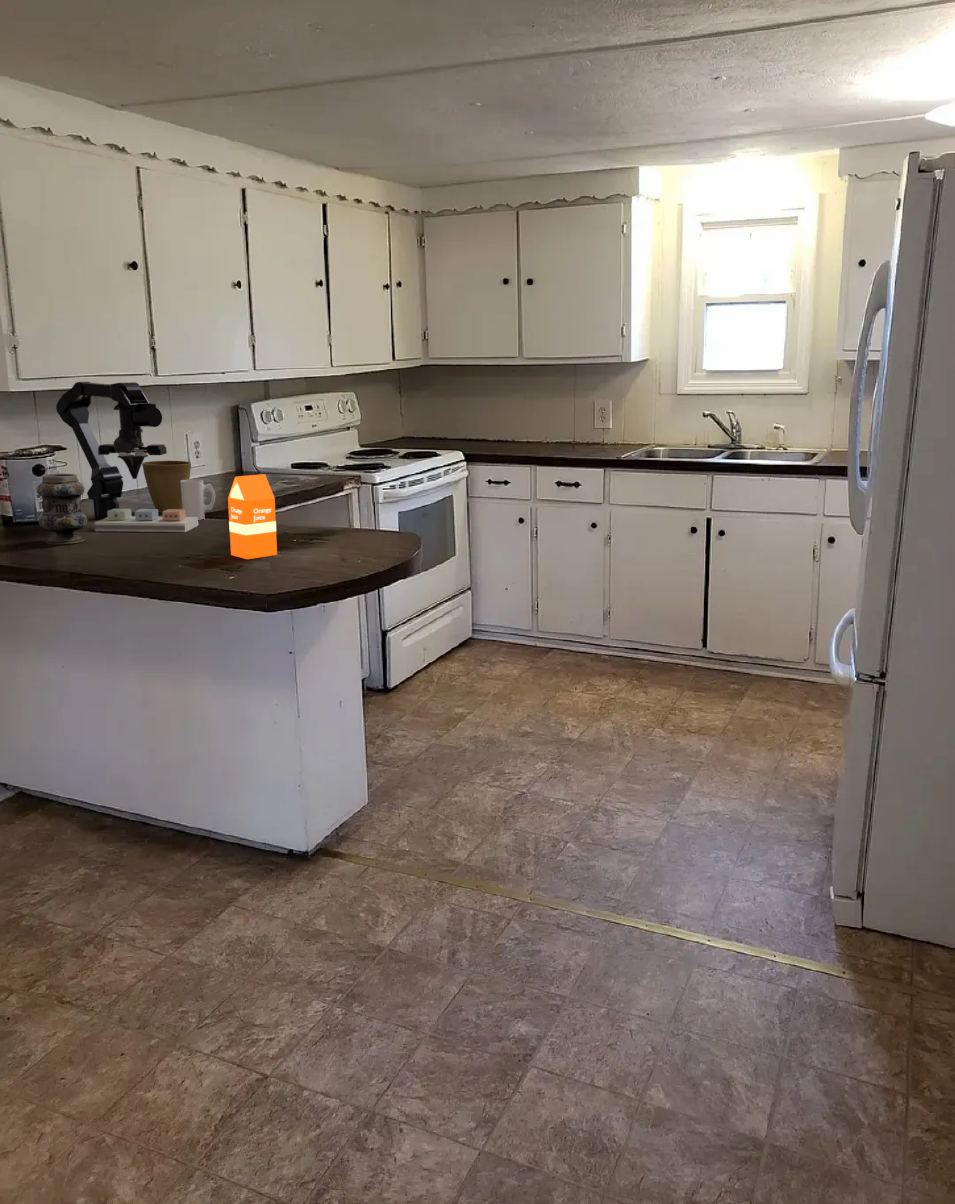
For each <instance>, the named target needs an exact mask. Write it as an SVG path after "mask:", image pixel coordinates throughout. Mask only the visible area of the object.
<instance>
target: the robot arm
mask: <svg viewBox="0 0 955 1204" xmlns="http://www.w3.org/2000/svg"><path fill="white" fill-rule="evenodd" d="M146 396H147V395H145V393H144V392H143V389H142V388H141V386H140V384H139V383H138V382H134V381H133V382H132V381H131V382H116V383H109V384H108V383H97V382H91V381H77V382H75V383H74V384H73V386H72V387H71V388H69V390H67V391H66V392H65V393H63V394H61V397H60V399H59V400H57V402H56V407H55V408H56V412H57V414H58V415H59V418H61V420H62V422H63V423H64V424H65V425H67V426H68V427H70V428H71V429H72V431H73V433H74V435H75V437H76V440H77V442H78V443H79V445H80V448H81V450H82V451H83V455H84V456H85V458H86V460H87V463H88V465H89V466H90V468H91V473H90V474H91V476H90V481H91V486H90V488H89V489H88V490H87V492H86V495H87V498H88V500H90V501H91V500H92V502H93V504H92V505H93V512H94V513H93V514H94V516H93V517H92V520H102V519H105V518H107V517H108V515H107V511H109V510H112V509H120V502H118V498H121V497H122V494H123V489H124V479H123V476H122V475H121V474H122V473H120V470H119V468H118V465H115V466H114V465H113V466H112V465H110V464H109V463H108V462H107V459H106V457H105V456H108V455H110V454H118V455H117V459H121V460H122V461H123V462H124V463H125V465H126V467H127V469H128V472H129V474H130V475H131V476H130V477H132V479H133V480H137V477H138V476H139V472H140V469H141V467H142V463H143V462H144V460H145V458H147V457H149V456H163V455H167V454H168V453H167V452H168V451H167V447H166V445H165V444H157V443H156V444H154V443H153V444H149V445H147V446H145V444H144V442H143V439H142V436H143V435H142V433H143V428H142V427H147V428H156V427H160V425H161V424H162V421H163V414H162V412H161V410H160V409H159V408H158V407H157V403H155V402H154V403H153V402H150V401H149V399H148V398H147V397H146ZM92 397H99V398H100V397H101V398H109V399H111V400H112V401H114V402H117V403H116V405H115V406H114V407H113V410H114V411H119V412H118V414H119V426H120V429H119V430H118V436H117V437H115V439H114V441H113V443H103V444H100V445H99V443H98V441H97V438H96V437H95V434H94V432H93V430H92V428H91V426H90V424H89V416H90V412H89V409H88V408H89V407H90V406H91V404H92Z"/></svg>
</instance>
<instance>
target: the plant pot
mask: <svg viewBox="0 0 955 1204" xmlns="http://www.w3.org/2000/svg"><path fill="white" fill-rule="evenodd" d="M191 466H192V462H190V461H185V460H152V461H150V460H149V461H148V460H147V461H143V462H142V464H141V467H142V469H143V470H142V471H143V474H144V475H143V476H144V478H145V479H144V480H145V482H146V483H145V484H146V486H147V489H148V492H149V495H150V498H151V501H152V503H153V506H154V509H158V512H159V513H158V514H162V512H163V511H165V510H167V509H183V506H182V494H181V482H180V481H181V480H189V479H190V477H191V469H192V467H191Z"/></svg>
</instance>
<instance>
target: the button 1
mask: <svg viewBox="0 0 955 1204" xmlns="http://www.w3.org/2000/svg"><path fill="white" fill-rule="evenodd" d="M107 515H108V520H126V519H129V518H131V517H132V516H133V515H132V508H119V509H112V510H109V511H107Z"/></svg>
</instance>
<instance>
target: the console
mask: <svg viewBox="0 0 955 1204" xmlns="http://www.w3.org/2000/svg"><path fill="white" fill-rule="evenodd" d="M131 516H132V517H131V518H129V519H126V520H108V517H107V518H105V519H98V520H97V521H94V525H93V527H94V531H95V532H131V533H132V532H138V533H140V532H143V533H144V532H145V533H146V532H147V533H151V532H152V533H186V532H188V531H190V530H192V529H194V528H196V527H198V526H199V521H198V517H186V518H184V519H182V520H180V521H179V520H163V516H159V518H156V519H154V520H135V515H134V516H133V515H131Z"/></svg>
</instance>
